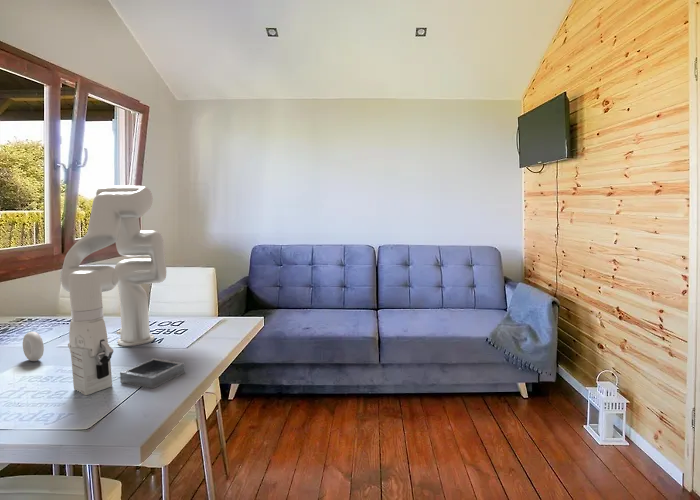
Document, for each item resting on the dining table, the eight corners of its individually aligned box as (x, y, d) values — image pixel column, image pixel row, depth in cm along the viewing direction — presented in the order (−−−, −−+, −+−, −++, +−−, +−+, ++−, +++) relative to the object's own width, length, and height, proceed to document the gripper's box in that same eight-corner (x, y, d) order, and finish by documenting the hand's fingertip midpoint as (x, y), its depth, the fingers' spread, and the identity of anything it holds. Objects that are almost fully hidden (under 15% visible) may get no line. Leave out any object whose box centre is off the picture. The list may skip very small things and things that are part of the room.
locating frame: (120, 382, 125) (120, 372, 124) (154, 367, 136) (153, 358, 136) (152, 388, 120) (152, 378, 120) (184, 372, 132) (184, 363, 131)
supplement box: (100, 380, 126) (97, 339, 125) (113, 386, 122) (110, 343, 120) (72, 389, 120) (69, 346, 118) (85, 396, 116) (81, 351, 114)
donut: (47, 362, 142) (44, 332, 141) (35, 365, 139) (32, 335, 138) (33, 356, 147) (31, 328, 146) (22, 359, 144) (19, 330, 143)
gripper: (53, 315, 118) (58, 375, 120) (97, 320, 112) (101, 384, 114) (78, 309, 125) (83, 366, 127) (122, 314, 119) (126, 374, 121)
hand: (92, 374), depth 120 cm, fingers closed on supplement box, 8 cm apart
